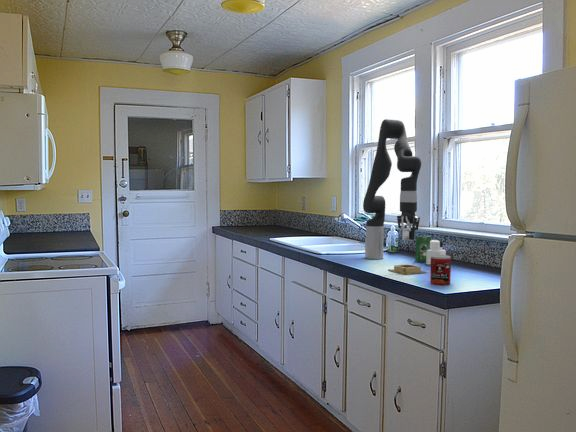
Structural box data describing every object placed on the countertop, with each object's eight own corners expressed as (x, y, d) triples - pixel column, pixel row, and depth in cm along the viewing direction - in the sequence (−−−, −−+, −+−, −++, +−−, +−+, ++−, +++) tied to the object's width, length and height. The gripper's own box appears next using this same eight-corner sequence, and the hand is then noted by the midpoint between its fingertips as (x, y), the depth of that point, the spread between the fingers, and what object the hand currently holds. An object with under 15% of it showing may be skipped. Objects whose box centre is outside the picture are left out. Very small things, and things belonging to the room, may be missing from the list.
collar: (388, 270, 240) (388, 265, 240) (409, 269, 245) (409, 263, 245) (404, 274, 229) (404, 269, 229) (426, 273, 234) (426, 267, 234)
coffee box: (426, 260, 273) (427, 235, 272) (430, 261, 270) (431, 235, 269) (414, 261, 269) (415, 236, 268) (418, 262, 266) (419, 236, 265)
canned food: (429, 284, 207) (429, 256, 207) (431, 281, 215) (431, 254, 214) (449, 286, 205) (450, 257, 204) (451, 282, 212) (451, 255, 212)
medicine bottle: (432, 262, 265) (432, 239, 265) (445, 264, 261) (446, 240, 260) (425, 264, 260) (426, 240, 259) (439, 265, 255) (440, 241, 255)
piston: (400, 240, 238) (400, 228, 238) (408, 239, 240) (409, 227, 240) (406, 241, 233) (406, 229, 233) (415, 240, 235) (415, 228, 235)
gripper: (391, 200, 240) (391, 237, 242) (411, 201, 227) (410, 241, 228) (405, 200, 244) (404, 237, 245) (425, 201, 231) (424, 240, 232)
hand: (407, 238), depth 237 cm, fingers closed on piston, 5 cm apart
